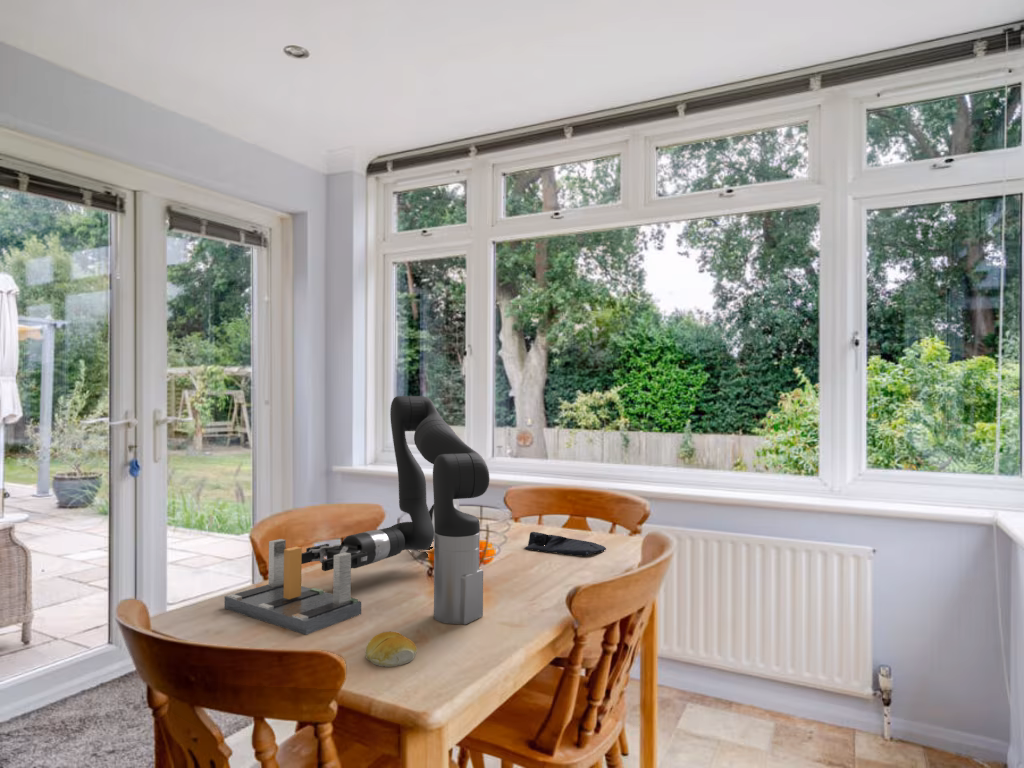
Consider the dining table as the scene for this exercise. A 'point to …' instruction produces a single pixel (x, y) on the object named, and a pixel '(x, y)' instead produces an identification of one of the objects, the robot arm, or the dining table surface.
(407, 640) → the bread roll
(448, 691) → the dining table surface
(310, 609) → the grey slotted stand
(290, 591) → the block
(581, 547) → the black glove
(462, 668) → the dining table surface
